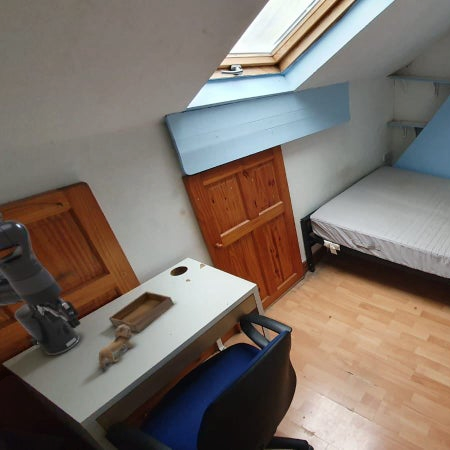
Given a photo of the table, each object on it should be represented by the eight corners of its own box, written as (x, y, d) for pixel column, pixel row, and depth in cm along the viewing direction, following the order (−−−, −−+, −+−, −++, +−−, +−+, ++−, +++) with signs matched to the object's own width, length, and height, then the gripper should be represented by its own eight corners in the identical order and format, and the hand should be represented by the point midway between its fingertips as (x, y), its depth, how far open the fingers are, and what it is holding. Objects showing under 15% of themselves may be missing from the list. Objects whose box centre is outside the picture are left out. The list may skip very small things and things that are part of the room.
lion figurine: (127, 338, 120) (117, 322, 115) (141, 338, 120) (131, 322, 115) (96, 372, 107) (83, 356, 103) (111, 372, 107) (99, 356, 103)
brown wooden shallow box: (113, 325, 125) (108, 318, 123) (150, 298, 138) (146, 291, 136) (139, 332, 122) (134, 325, 120) (173, 304, 136) (170, 297, 133)
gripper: (69, 280, 90) (96, 318, 98) (33, 272, 92) (62, 310, 101) (38, 298, 83) (69, 337, 92) (0, 289, 86) (34, 328, 94)
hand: (65, 323), depth 96 cm, fingers open, 8 cm apart
